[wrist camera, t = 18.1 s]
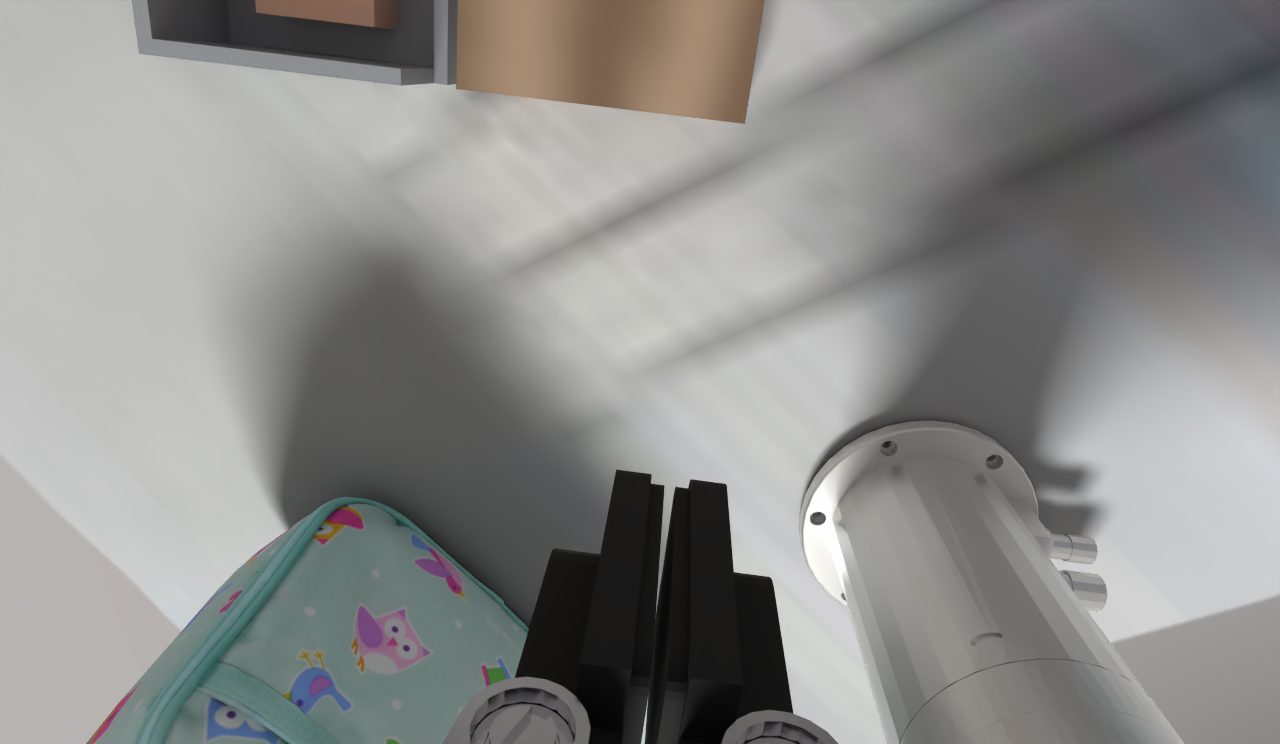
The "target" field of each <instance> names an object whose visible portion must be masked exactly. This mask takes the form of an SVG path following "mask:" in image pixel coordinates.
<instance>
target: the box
mask: <svg viewBox="0 0 1280 744" xmlns="http://www.w3.org/2000/svg"><path fill="white" fill-rule="evenodd" d="M132 4H133V12H134V19H135V26H136V34H137V41H138V48H139V54H147V55H155V56H163V57H171V58H180V59H188V60H196V61H204V62H213V63H221V64H229V65H237V66H246V67H254V68H262V69H270V70H279V71H287V72H295V73H303V74H312V75H320V76H328V77H336V78H345V79H353V80H361V81H369V82H378V83H386V84H394V85H413V84H427V83H437V84H446V85H450V84H457V16H458V0H396V30H395V29H386V28H378V27H370V26H361V25H353V24H345V23H337V22H328V21H320V20H312V19H304V18H295V17H287V16H279V15H271V14H263V13H256V3H255V0H132Z"/></svg>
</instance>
